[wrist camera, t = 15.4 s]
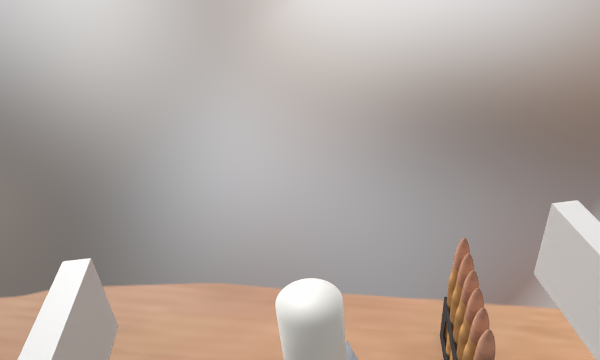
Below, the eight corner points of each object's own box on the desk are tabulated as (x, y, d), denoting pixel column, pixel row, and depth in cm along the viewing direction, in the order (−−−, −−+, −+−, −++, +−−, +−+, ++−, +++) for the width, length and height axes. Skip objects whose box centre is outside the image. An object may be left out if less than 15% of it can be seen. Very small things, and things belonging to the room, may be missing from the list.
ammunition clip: (485, 454, 35) (509, 343, 29) (458, 452, 35) (476, 342, 29) (460, 335, 44) (475, 230, 38) (439, 334, 44) (450, 230, 38)
